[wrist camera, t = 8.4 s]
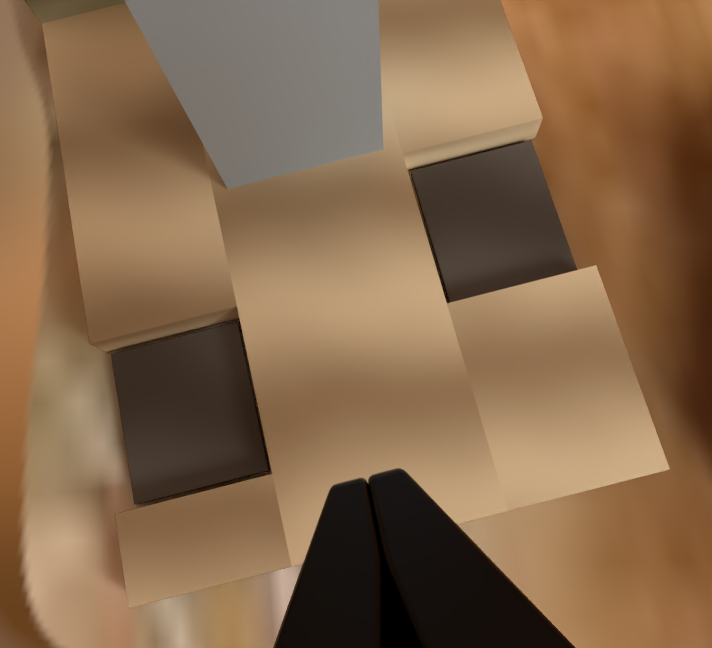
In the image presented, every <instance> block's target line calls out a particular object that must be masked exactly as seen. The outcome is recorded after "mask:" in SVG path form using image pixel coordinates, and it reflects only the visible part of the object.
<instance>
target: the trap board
mask: <svg viewBox="0 0 712 648" xmlns="http://www.w3.org/2000/svg"><path fill="white" fill-rule="evenodd" d="M25 1H26V3H27V4H28V5H29V7H30V8H31V9H32V11H33V12H34V13H35V15H36V16H37V17H38V19H39V20H40V21H41V23H42V27H43V33H44V40H45V47H46V54H47V60H48V67H49V74H50V81H51V87H52V94H53V101H54V108H55V114H56V121H57V128H58V135H59V141H60V148H61V155H62V162H63V168H64V175H65V182H66V189H67V195H68V202H69V209H70V216H71V222H72V229H73V236H74V243H75V249H76V256H77V263H78V270H79V276H80V283H81V290H82V297H83V304H84V310H85V317H86V324H87V331H88V337H89V344H91V345H93V346H95V347H97V348H99V349H101V350H103V351H105V352H109V351H112V350H116V349H120V348H124V347H128V346H132V345H136V344H140V343H144V342H148V341H152V340H156V339H160V338H164V337H168V336H172V335H175V334H179V333H183V332H187V331H191V330H195V329H199V328H203V327H207V326H211V325H215V324H219V323H223V322H227V321H231V320H234V319H238V318H240V323H241V328H242V333H243V337H244V342H245V347H246V352H247V357H248V361H249V366H250V371H251V376H252V380H253V385H254V390H255V395H256V399H257V404H258V409H259V414H260V418H261V423H262V428H263V433H264V437H265V442H266V447H267V452H268V457H269V461H270V466H271V471H272V474H269V475H266V476H262V477H258V478H254V479H250V480H246V481H242V482H238V483H234V484H230V485H226V486H223V487H219V488H215V489H211V490H207V491H203V492H199V493H195V494H191V495H187V496H183V497H180V498H176V499H172V500H168V501H164V502H160V503H156V504H152V505H148V506H144V507H140V508H137V509H133V510H129V511H125V512H121V513H117V514H115V520H116V526H117V533H118V540H119V547H120V553H121V560H122V567H123V574H124V580H125V587H126V594H127V601H128V607H129V608H132V607H136V606H139V605H143V604H147V603H151V602H155V601H159V600H163V599H167V598H171V597H174V596H178V595H182V594H186V593H190V592H194V591H198V590H202V589H206V588H210V587H213V586H217V585H221V584H225V583H229V582H233V581H237V580H241V579H245V578H248V577H252V576H256V575H260V574H264V573H268V572H272V571H276V570H280V569H284V568H287V567H291V566H295V565H299V564H303V562H304V560H305V557H306V554H307V551H308V548H309V545H310V543H311V540H312V537H313V534H314V531H315V529H316V526H317V523H318V520H319V517H320V515H321V512H322V509H323V506H324V503H325V500H326V498H327V495H328V492H329V490H330V488H331V487H332V486H333V485H334V484H337V483H341V482H345V481H349V480H353V479H357V478H364V479H366V480H367V482H368V479H369V477H370V476H371V475H373V474H376V473H380V472H384V471H388V470H392V469H396V468H401V469H403V470H405V471H406V472H407V473H408V474H409V475H410V476H411V477H412V478H413V479H414V480H415V481H416V482H417V483H418V484H419V485H420V486H421V487H422V489H423V490H424V491H425V492H426V493H427V494H428V495H429V496H430V497H431V498H432V499H433V500H434V501H435V502H436V503H437V504H438V505H439V506H440V507H441V508H442V509H443V510H444V511H445V512H446V514H447V515H448V516H449V517H450V518H451V519H452V520H453V521H454V522H455V523H456V524H459V523H463V522H467V521H470V520H474V519H478V518H482V517H486V516H490V515H494V514H498V513H502V512H506V511H509V510H513V509H517V508H521V507H525V506H529V505H533V504H537V503H541V502H544V501H548V500H552V499H556V498H560V497H564V496H568V495H572V494H576V493H580V492H583V491H587V490H591V489H595V488H599V487H603V486H607V485H611V484H615V483H618V482H622V481H626V480H630V479H634V478H638V477H642V476H646V475H650V474H654V473H657V472H661V471H665V470H669V466H668V463H667V460H666V458H665V455H664V452H663V449H662V446H661V444H660V441H659V438H658V435H657V433H656V430H655V427H654V424H653V422H652V419H651V416H650V413H649V410H648V408H647V405H646V402H645V399H644V397H643V394H642V391H641V388H640V386H639V383H638V380H637V377H636V374H635V372H634V369H633V366H632V363H631V361H630V358H629V355H628V352H627V350H626V347H625V344H624V341H623V338H622V336H621V333H620V330H619V327H618V325H617V322H616V319H615V316H614V314H613V311H612V308H611V305H610V302H609V300H608V297H607V294H606V291H605V289H604V286H603V283H602V280H601V278H600V275H599V272H598V269H597V266H592V267H588V268H584V269H580V270H577V268H576V265H575V263H574V260H573V257H572V254H571V251H570V248H569V246H568V243H567V240H566V237H565V234H564V231H563V229H562V226H561V223H560V220H559V217H558V214H557V212H556V209H555V206H554V203H553V200H552V197H551V195H550V192H549V189H548V186H547V183H546V180H545V178H544V175H543V172H542V169H541V166H540V163H539V161H538V158H537V155H536V152H535V149H534V146H533V144H532V141H527V142H523V143H519V144H515V145H511V146H507V147H503V148H500V149H496V150H492V151H488V152H484V153H480V154H476V155H472V156H468V157H464V158H460V159H456V160H452V161H448V162H444V163H440V164H436V165H432V166H428V167H424V168H421V169H417V170H413V171H411V176H412V180H413V183H414V186H415V190H416V193H417V197H418V200H419V203H420V207H421V210H422V213H423V217H424V220H425V224H426V227H427V230H428V234H429V237H430V240H431V244H432V247H433V251H434V254H435V257H436V261H437V264H438V267H439V271H440V274H441V278H442V281H443V284H444V288H445V291H446V294H447V298H448V301H449V303H447V302H446V299H445V296H444V292H443V289H442V285H441V282H440V279H439V275H438V272H437V269H436V265H435V262H434V258H433V255H432V252H431V248H430V245H429V241H428V238H427V235H426V231H425V228H424V225H423V221H422V218H421V214H420V211H419V208H418V204H417V201H416V197H415V194H414V191H413V187H412V184H411V180H410V177H409V174H408V170H410V169H414V168H418V167H422V166H426V165H430V164H434V163H438V162H442V161H446V160H450V159H454V158H458V157H462V156H466V155H470V154H474V153H478V152H482V151H486V150H489V149H493V148H497V147H501V146H505V145H509V144H513V143H517V142H521V141H525V140H529V139H533V138H535V137H536V134H537V132H538V129H539V127H540V124H541V122H542V119H543V117H542V114H541V111H540V109H539V106H538V103H537V100H536V98H535V95H534V92H533V89H532V87H531V84H530V81H529V78H528V75H527V73H526V70H525V67H524V64H523V62H522V59H521V56H520V53H519V51H518V48H517V45H516V42H515V39H514V37H513V34H512V31H511V28H510V26H509V23H508V20H507V17H506V15H505V12H504V9H503V6H502V3H501V1H500V0H378V5H379V34H380V64H381V93H382V123H383V150H379V151H375V152H371V153H367V154H363V155H359V156H355V157H351V158H347V159H343V160H339V161H336V162H332V163H328V164H324V165H320V166H316V167H312V168H308V169H304V170H300V171H296V172H292V173H288V174H285V175H281V176H277V177H273V178H269V179H265V180H261V181H257V182H253V183H249V184H245V185H241V186H237V187H234V188H230V189H227V187H226V185H225V183H224V181H223V180H222V178H221V176H220V174H219V172H218V171H217V169H216V167H215V165H214V163H213V161H212V160H211V158H210V156H209V154H208V152H207V150H206V149H205V147H204V145H203V143H202V141H201V139H200V138H199V136H198V134H197V132H196V130H195V128H194V127H193V125H192V123H191V121H190V119H189V118H188V116H187V114H186V112H185V110H184V108H183V107H182V105H181V103H180V101H179V99H178V97H177V96H176V94H175V92H174V90H173V88H172V86H171V85H170V83H169V81H168V79H167V77H166V75H165V74H164V72H163V70H162V68H161V66H160V65H159V63H158V61H157V59H156V57H155V55H154V54H153V52H152V50H151V48H150V46H149V44H148V43H147V41H146V39H145V37H144V35H143V33H142V32H141V30H140V28H139V26H138V24H137V22H136V21H135V19H134V17H133V15H132V13H131V12H130V10H129V8H128V6H127V4H126V2H125V1H124V0H25ZM111 357H112V363H113V370H114V376H115V382H116V389H117V395H118V402H119V408H120V414H121V421H122V427H123V434H124V440H125V447H126V453H127V459H128V466H129V472H130V479H131V485H132V491H133V498H134V504H140V503H144V502H148V501H152V500H156V499H160V498H164V497H168V496H172V495H176V494H180V493H183V492H187V491H191V490H195V489H199V488H203V487H207V486H211V485H215V484H219V483H223V482H227V481H230V480H234V479H238V478H242V477H246V476H250V475H254V474H258V473H262V472H266V471H270V469H269V465H268V460H267V455H266V450H265V446H264V441H263V436H262V431H261V426H260V422H259V417H258V412H257V407H256V403H255V398H254V393H253V388H252V383H251V379H250V374H249V369H248V364H247V360H246V355H245V350H244V345H243V340H242V336H241V331H240V326H239V324H238V323H237V322H236V323H232V324H228V325H224V326H220V327H216V328H212V329H208V330H204V331H200V332H196V333H193V334H189V335H185V336H181V337H177V338H173V339H169V340H165V341H161V342H157V343H153V344H149V345H145V346H141V347H137V348H134V349H130V350H126V351H122V352H118V353H114V354H111ZM368 485H369V484H368Z"/></svg>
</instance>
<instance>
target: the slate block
mask: <svg viewBox="0 0 712 648" xmlns="http://www.w3.org/2000/svg"><path fill="white" fill-rule="evenodd" d="M124 1H125V2H126V4H127V6H128V8H129V10H130V12H131V13H132V15H133V17H134V19H135V21H136V22H137V24H138V26H139V28H140V30H141V32H142V33H143V35H144V37H145V39H146V41H147V43H148V44H149V46H150V48H151V50H152V52H153V54H154V55H155V57H156V59H157V61H158V63H159V65H160V66H161V68H162V70H163V72H164V74H165V75H166V77H167V79H168V81H169V83H170V85H171V86H172V88H173V90H174V92H175V94H176V96H177V97H178V99H179V101H180V103H181V105H182V107H183V108H184V110H185V112H186V114H187V116H188V118H189V119H190V121H191V123H192V125H193V127H194V128H195V130H196V132H197V134H198V136H199V138H200V139H201V141H202V143H203V145H204V147H205V149H206V150H207V152H208V154H209V156H210V158H211V160H212V161H213V163H214V165H215V167H216V169H217V171H218V172H219V174H220V176H221V178H222V180H223V181H224V183H225V185H226V187H227V189H230V188H234V187H237V186H241V185H245V184H249V183H253V182H257V181H261V180H265V179H269V178H273V177H277V176H281V175H285V174H288V173H292V172H296V171H300V170H304V169H308V168H312V167H316V166H320V165H324V164H328V163H332V162H336V161H339V160H343V159H347V158H351V157H355V156H359V155H363V154H367V153H371V152H375V151H379V150H383V123H382V93H381V64H380V34H379V5H378V0H124Z"/></svg>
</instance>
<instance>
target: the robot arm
mask: <svg viewBox="0 0 712 648" xmlns="http://www.w3.org/2000/svg"><path fill="white" fill-rule="evenodd" d="M368 484H369V485H368ZM273 648H575V647H574V646H573V645H572V644H571V643H570V642H569V641H568V639H567V638H566V637H565V636H564V635H563V634H562V633H561V632H560V631H559V630H558V629H557V628H556V627H555V626H554V625H553V624H552V623H551V622H550V621H549V620H548V619H547V618H546V617H545V616H544V615H543V613H542V612H541V611H540V610H539V609H538V608H537V607H536V606H535V605H534V604H533V603H532V602H531V601H530V600H529V599H528V598H527V597H526V596H525V595H524V594H523V593H522V592H521V591H520V590H519V588H518V587H517V586H516V585H515V584H514V583H513V582H512V581H511V580H510V579H509V578H508V577H507V576H506V575H505V574H504V573H503V572H502V571H501V570H500V569H499V568H498V567H497V566H496V565H495V563H494V562H493V561H492V560H491V559H490V558H489V557H488V556H487V555H486V554H485V553H484V552H483V551H482V550H481V549H480V548H479V547H478V546H477V545H476V544H475V543H474V542H473V541H472V540H471V539H470V537H469V536H468V535H467V534H466V533H465V532H464V531H463V530H462V529H461V528H460V527H459V526H458V525H457V524H456V523H455V522H454V521H453V520H452V519H451V518H450V517H449V516H448V515H447V514H446V512H445V511H444V510H443V509H442V508H441V507H440V506H439V505H438V504H437V503H436V502H435V501H434V500H433V499H432V498H431V497H430V496H429V495H428V494H427V493H426V492H425V491H424V490H423V489H422V487H421V486H420V485H419V484H418V483H417V482H416V481H415V480H414V479H413V478H412V477H411V476H410V475H409V474H408V473H407V472H406V471H405V470H403V469H401V468H396V469H392V470H388V471H384V472H380V473H376V474H373V475H371V476H370V477H369V479H368V482H367V480H366V479H364V478H357V479H353V480H349V481H345V482H341V483H337V484H334V485H333V486H332V487H331V488H330V490H329V492H328V495H327V498H326V500H325V503H324V506H323V509H322V512H321V515H320V517H319V520H318V523H317V526H316V529H315V531H314V534H313V537H312V540H311V543H310V545H309V548H308V551H307V554H306V557H305V560H304V562H303V565H302V568H301V571H300V574H299V576H298V579H297V582H296V585H295V588H294V590H293V593H292V596H291V599H290V602H289V605H288V607H287V610H286V613H285V616H284V619H283V621H282V624H281V627H280V630H279V633H278V635H277V638H276V641H275V644H274V647H273Z"/></svg>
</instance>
